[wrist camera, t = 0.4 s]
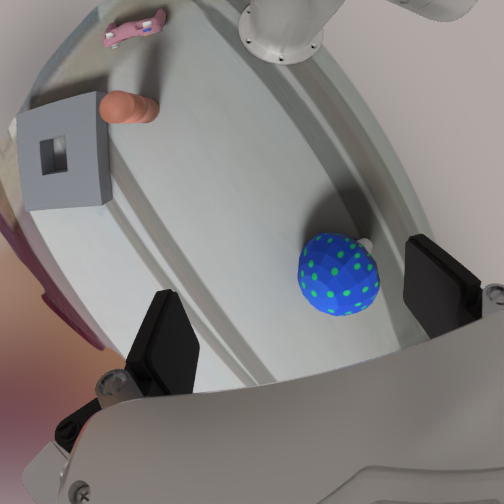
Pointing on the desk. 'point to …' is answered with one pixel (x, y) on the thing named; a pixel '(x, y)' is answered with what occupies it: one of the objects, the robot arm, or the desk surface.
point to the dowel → (128, 108)
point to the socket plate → (77, 150)
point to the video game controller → (133, 29)
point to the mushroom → (338, 273)
